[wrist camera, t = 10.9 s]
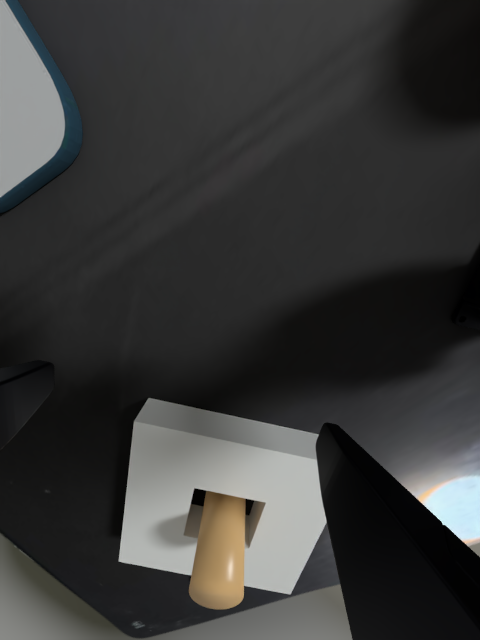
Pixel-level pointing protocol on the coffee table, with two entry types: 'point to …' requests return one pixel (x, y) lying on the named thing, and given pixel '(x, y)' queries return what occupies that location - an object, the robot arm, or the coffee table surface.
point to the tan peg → (220, 553)
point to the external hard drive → (32, 111)
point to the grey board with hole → (221, 491)
